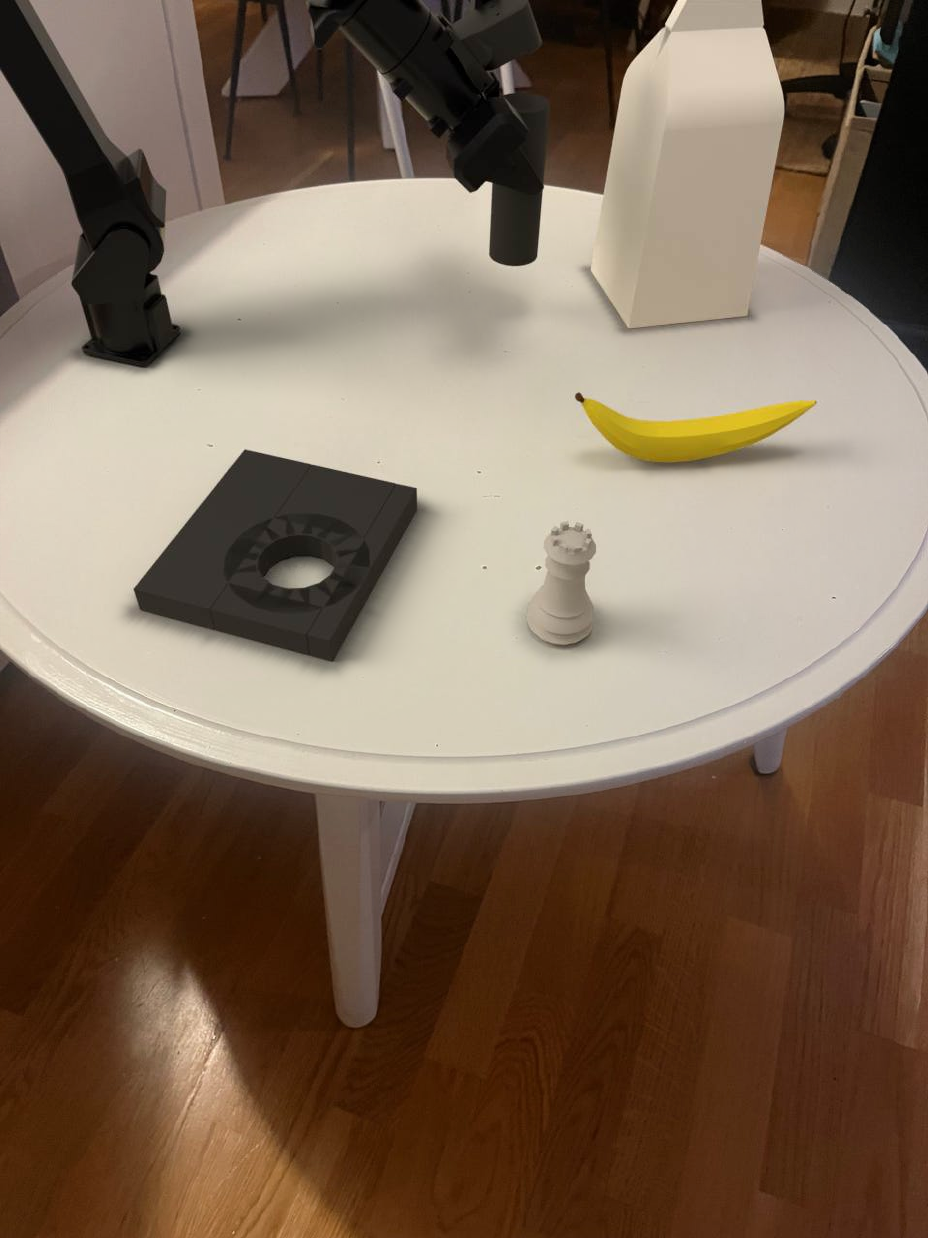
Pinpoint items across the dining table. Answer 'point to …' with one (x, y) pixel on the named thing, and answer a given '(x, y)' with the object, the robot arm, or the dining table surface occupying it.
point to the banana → (690, 431)
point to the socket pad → (279, 552)
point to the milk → (691, 168)
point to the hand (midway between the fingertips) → (533, 179)
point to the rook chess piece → (564, 587)
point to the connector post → (517, 210)
